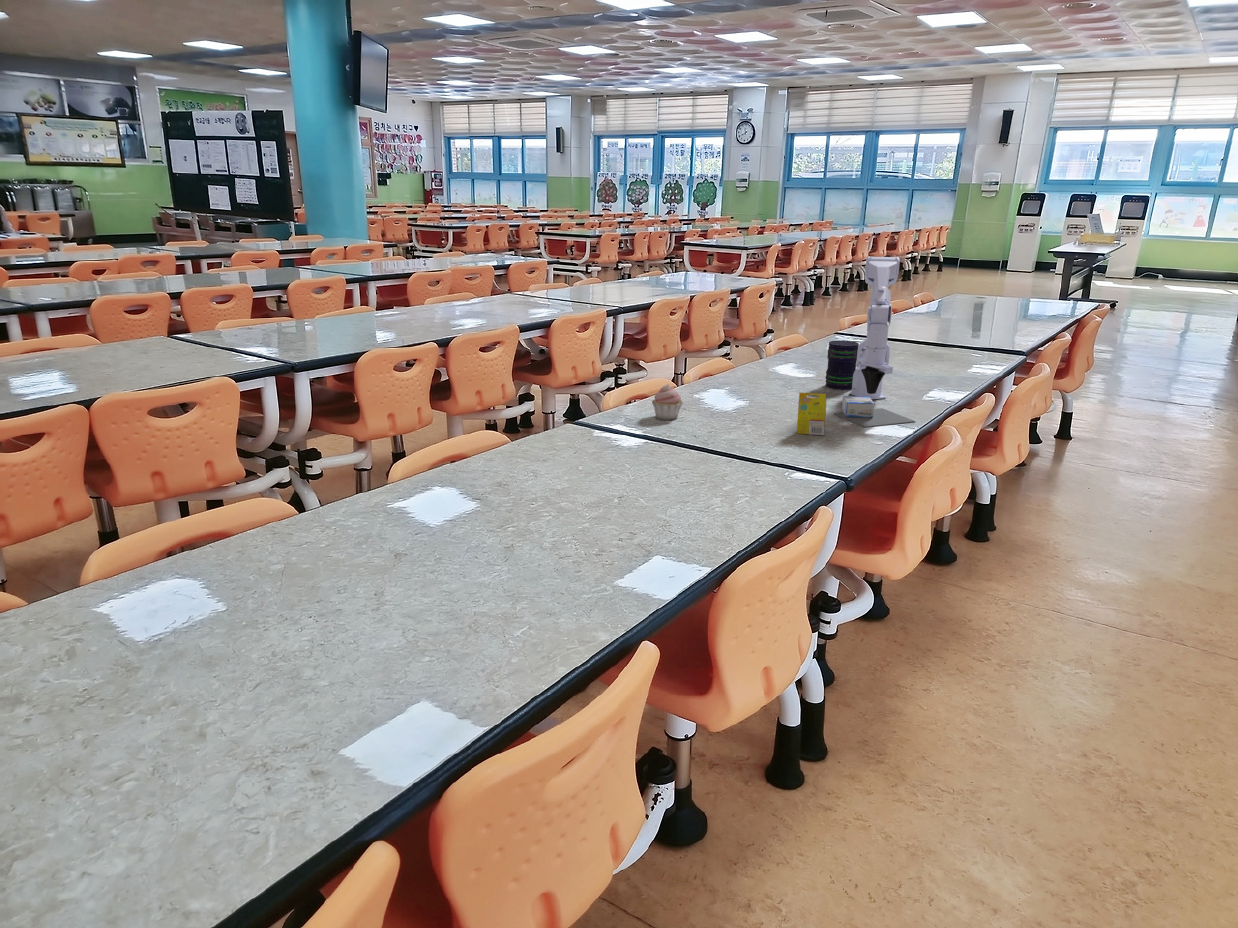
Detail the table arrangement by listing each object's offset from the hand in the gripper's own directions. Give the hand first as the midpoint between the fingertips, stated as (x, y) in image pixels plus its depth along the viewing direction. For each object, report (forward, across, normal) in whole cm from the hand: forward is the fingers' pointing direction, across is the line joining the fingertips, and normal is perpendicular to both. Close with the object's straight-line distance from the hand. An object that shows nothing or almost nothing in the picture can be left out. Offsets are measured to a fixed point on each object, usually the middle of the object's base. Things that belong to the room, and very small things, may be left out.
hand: (871, 393), depth 243 cm
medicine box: (+4, -6, -1) cm, 8 cm away
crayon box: (+7, +10, -26) cm, 29 cm away
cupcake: (+7, -18, -57) cm, 60 cm away
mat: (+7, +2, 0) cm, 7 cm away
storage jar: (+7, -35, +13) cm, 38 cm away
